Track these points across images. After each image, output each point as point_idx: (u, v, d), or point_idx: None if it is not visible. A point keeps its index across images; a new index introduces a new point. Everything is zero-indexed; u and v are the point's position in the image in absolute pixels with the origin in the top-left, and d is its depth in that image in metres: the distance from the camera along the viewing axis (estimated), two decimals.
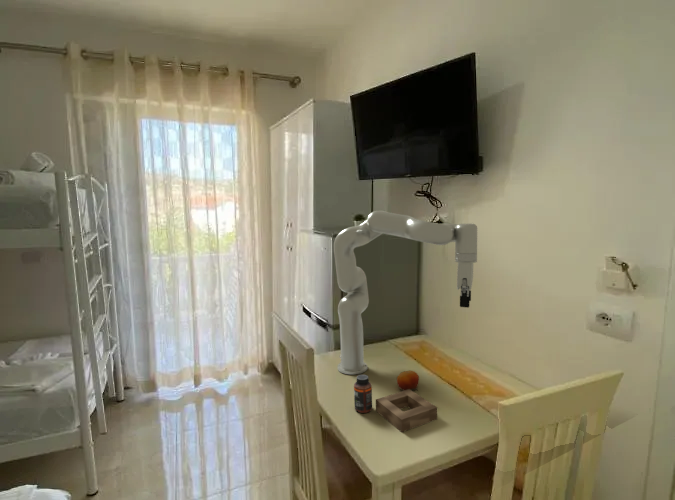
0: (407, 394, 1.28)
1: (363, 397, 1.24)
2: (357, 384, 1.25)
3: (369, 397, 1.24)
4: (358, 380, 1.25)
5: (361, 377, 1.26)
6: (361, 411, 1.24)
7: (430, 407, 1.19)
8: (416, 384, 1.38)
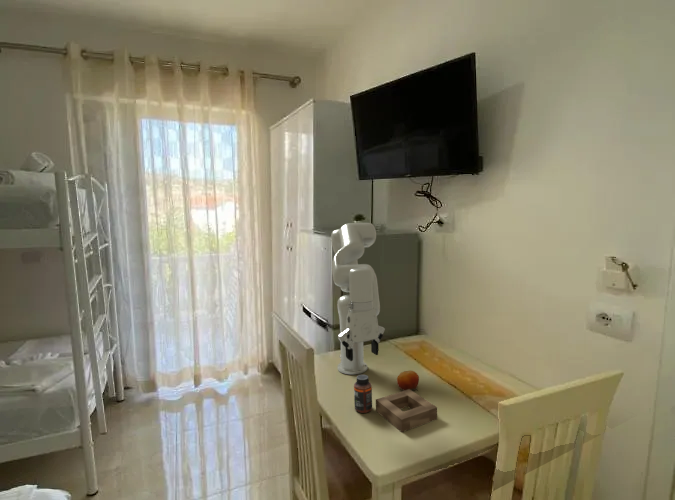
0: (407, 394, 1.28)
1: (363, 397, 1.24)
2: (357, 384, 1.25)
3: (369, 397, 1.24)
4: (358, 380, 1.25)
5: (361, 377, 1.26)
6: (361, 411, 1.24)
7: (430, 407, 1.19)
8: (416, 384, 1.38)
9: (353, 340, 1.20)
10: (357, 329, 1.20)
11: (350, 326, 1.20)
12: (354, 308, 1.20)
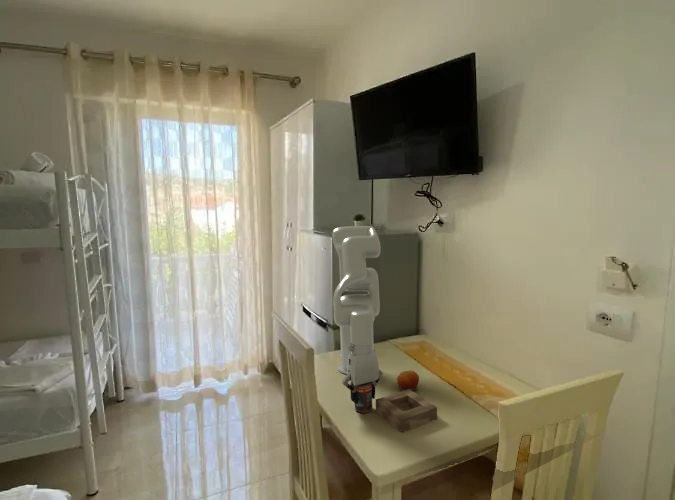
0: (407, 394, 1.28)
1: (364, 397, 1.24)
2: None
3: (369, 397, 1.24)
4: None
5: None
6: (361, 411, 1.24)
7: (430, 407, 1.19)
8: (416, 384, 1.38)
9: (354, 383, 1.22)
10: (357, 372, 1.22)
11: (351, 369, 1.22)
12: (355, 351, 1.22)
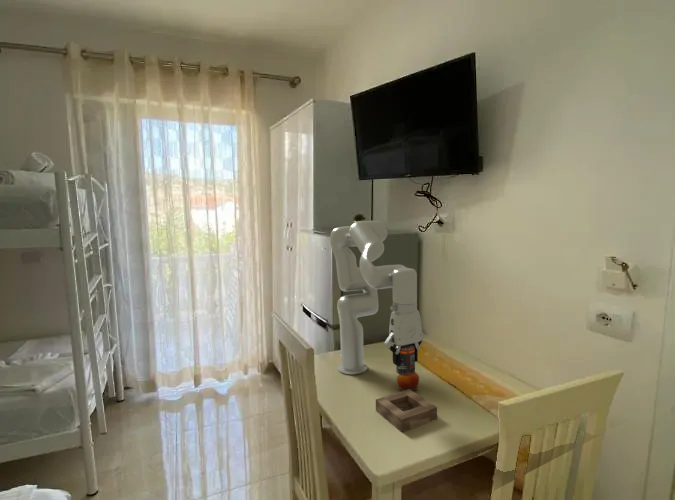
0: (407, 394, 1.28)
1: (407, 359, 1.18)
2: None
3: (413, 359, 1.19)
4: None
5: None
6: (404, 374, 1.18)
7: (430, 407, 1.19)
8: (416, 384, 1.38)
9: (397, 343, 1.16)
10: (401, 332, 1.16)
11: (394, 329, 1.16)
12: (398, 310, 1.16)
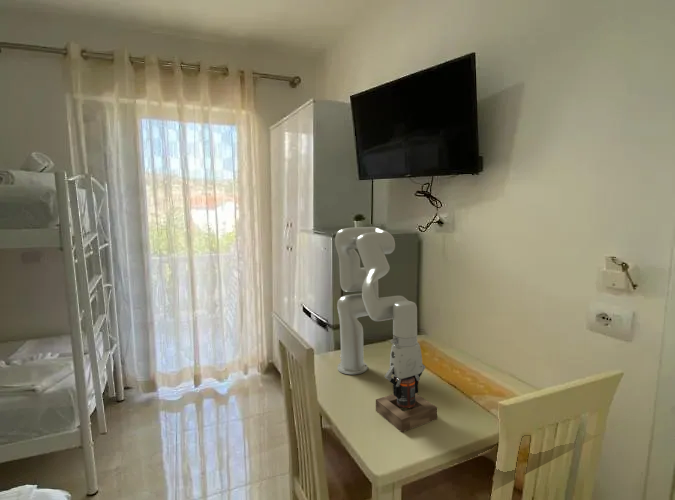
0: None
1: (407, 391, 1.19)
2: None
3: (413, 391, 1.20)
4: None
5: None
6: (405, 406, 1.19)
7: (430, 407, 1.19)
8: None
9: (398, 376, 1.17)
10: (401, 365, 1.17)
11: (395, 362, 1.17)
12: (399, 343, 1.17)
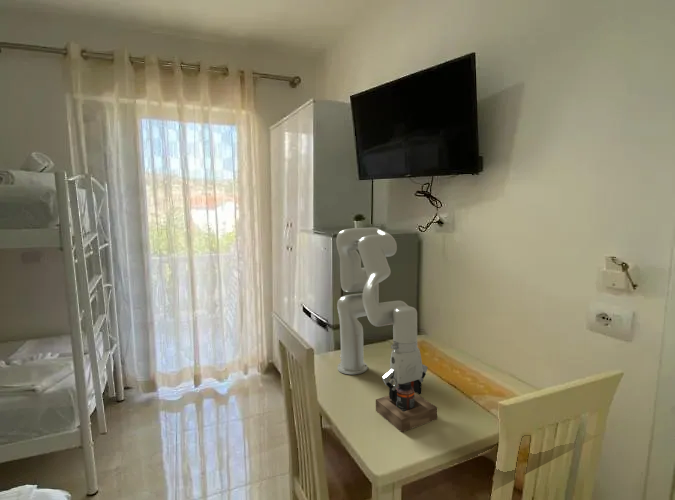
0: None
1: (407, 402, 1.19)
2: (400, 389, 1.21)
3: (413, 402, 1.20)
4: (401, 385, 1.21)
5: None
6: None
7: (430, 407, 1.19)
8: None
9: (398, 382, 1.17)
10: (402, 371, 1.17)
11: (395, 367, 1.18)
12: (399, 349, 1.17)
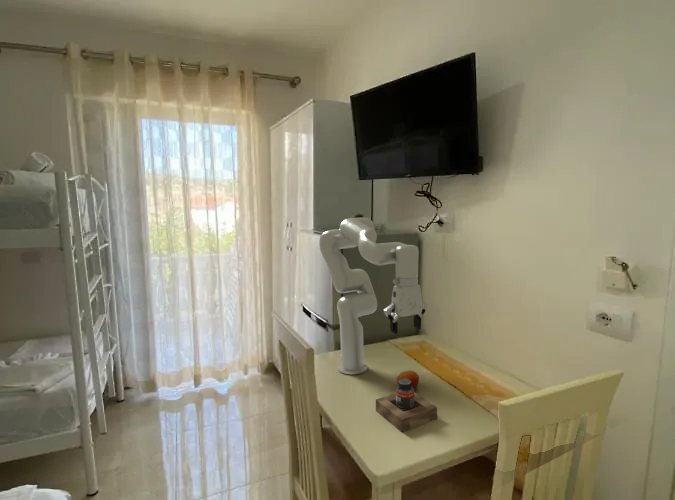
0: None
1: (407, 402, 1.19)
2: (400, 389, 1.21)
3: (413, 402, 1.20)
4: (401, 385, 1.21)
5: (403, 381, 1.22)
6: None
7: (430, 407, 1.19)
8: (416, 384, 1.38)
9: (398, 314, 1.25)
10: (402, 304, 1.25)
11: (396, 300, 1.25)
12: (400, 283, 1.25)
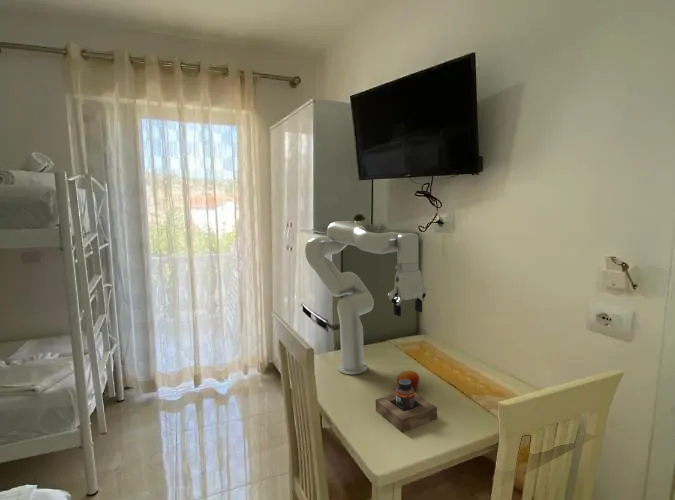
0: None
1: (407, 402, 1.19)
2: (400, 389, 1.21)
3: (413, 402, 1.20)
4: (401, 385, 1.21)
5: (403, 381, 1.22)
6: None
7: (430, 407, 1.19)
8: (416, 384, 1.38)
9: (401, 297, 1.34)
10: (405, 288, 1.34)
11: (399, 285, 1.34)
12: (402, 269, 1.34)
